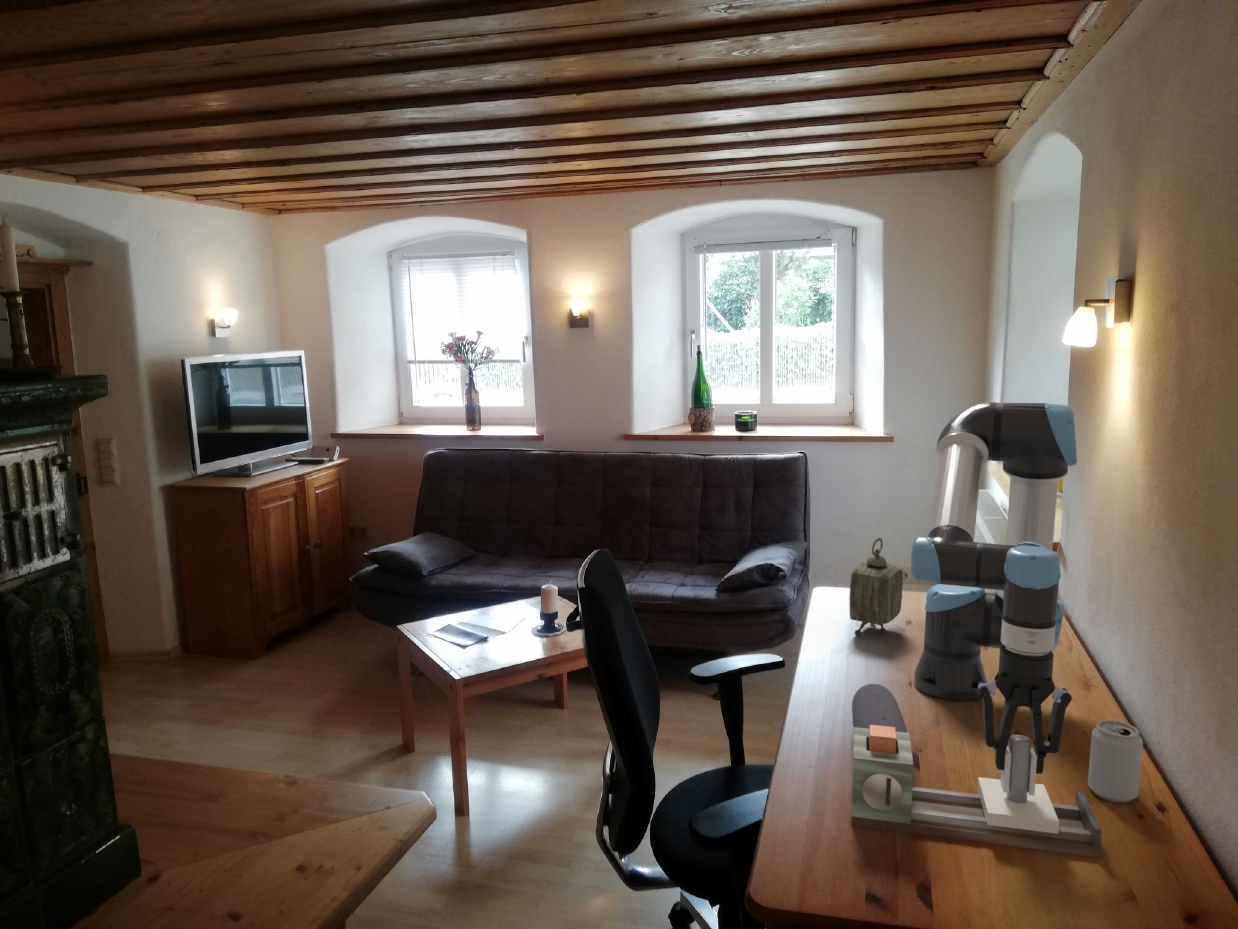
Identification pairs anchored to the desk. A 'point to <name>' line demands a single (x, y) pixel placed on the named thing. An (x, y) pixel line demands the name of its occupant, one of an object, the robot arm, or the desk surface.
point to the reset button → (882, 739)
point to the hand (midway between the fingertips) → (1017, 789)
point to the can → (1115, 761)
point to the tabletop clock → (875, 591)
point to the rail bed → (950, 806)
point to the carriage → (1018, 795)
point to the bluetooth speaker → (876, 708)
